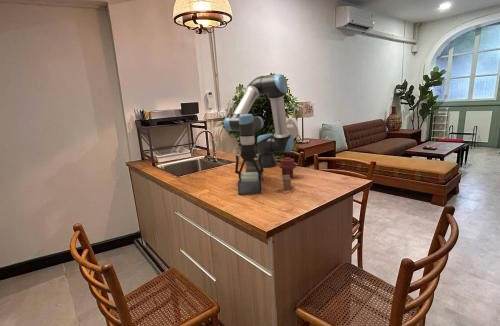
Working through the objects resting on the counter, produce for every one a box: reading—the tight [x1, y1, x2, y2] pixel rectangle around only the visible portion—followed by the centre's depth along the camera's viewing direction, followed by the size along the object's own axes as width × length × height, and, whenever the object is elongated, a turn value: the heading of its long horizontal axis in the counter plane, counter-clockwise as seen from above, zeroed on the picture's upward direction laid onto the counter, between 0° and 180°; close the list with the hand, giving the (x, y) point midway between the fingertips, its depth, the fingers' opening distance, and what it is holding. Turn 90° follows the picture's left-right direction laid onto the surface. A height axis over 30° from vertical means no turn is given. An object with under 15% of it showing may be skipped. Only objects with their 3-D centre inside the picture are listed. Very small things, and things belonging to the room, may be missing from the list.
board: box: [241, 171, 257, 182], centre depth 147 cm, size 12×8×2 cm, turn 177°
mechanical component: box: [278, 156, 296, 179], centre depth 166 cm, size 12×10×10 cm
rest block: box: [282, 175, 292, 191], centre depth 148 cm, size 8×4×6 cm, turn 177°
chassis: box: [236, 179, 263, 196], centre depth 148 cm, size 16×12×6 cm
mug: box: [244, 158, 264, 182], centre depth 167 cm, size 16×11×12 cm
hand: (250, 185), depth 148 cm, fingers closed on board, 8 cm apart
